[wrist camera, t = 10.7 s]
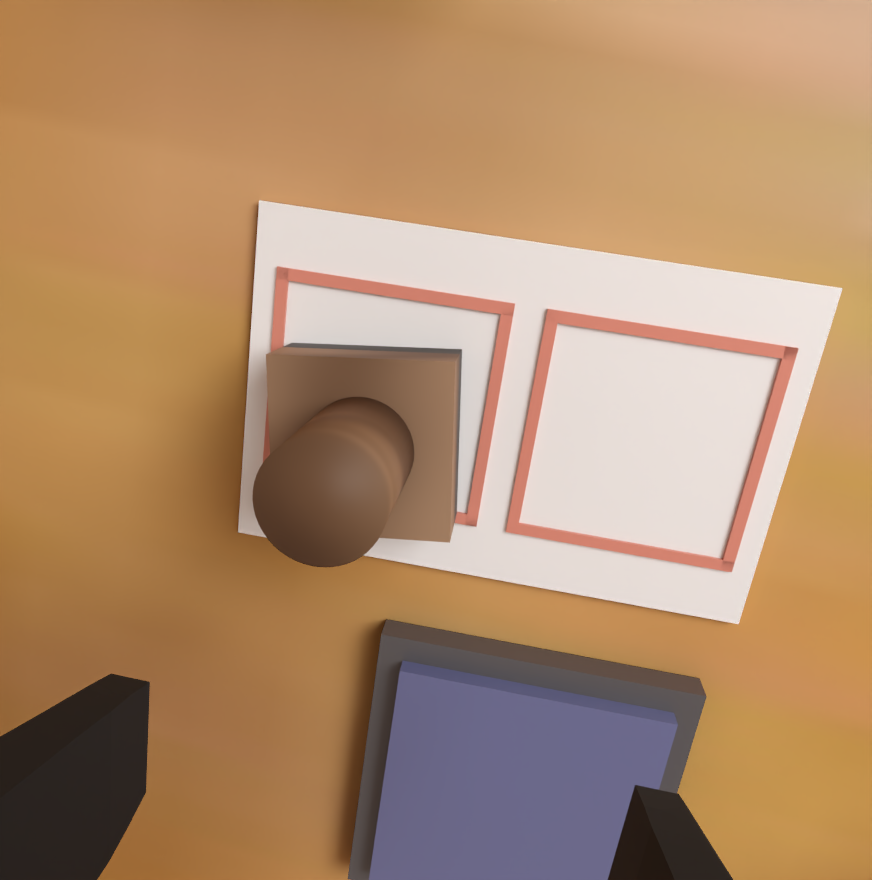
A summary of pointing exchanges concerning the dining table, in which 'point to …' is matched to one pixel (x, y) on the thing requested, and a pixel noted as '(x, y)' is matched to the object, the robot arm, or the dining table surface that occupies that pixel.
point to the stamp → (358, 449)
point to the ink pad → (509, 758)
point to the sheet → (564, 397)
